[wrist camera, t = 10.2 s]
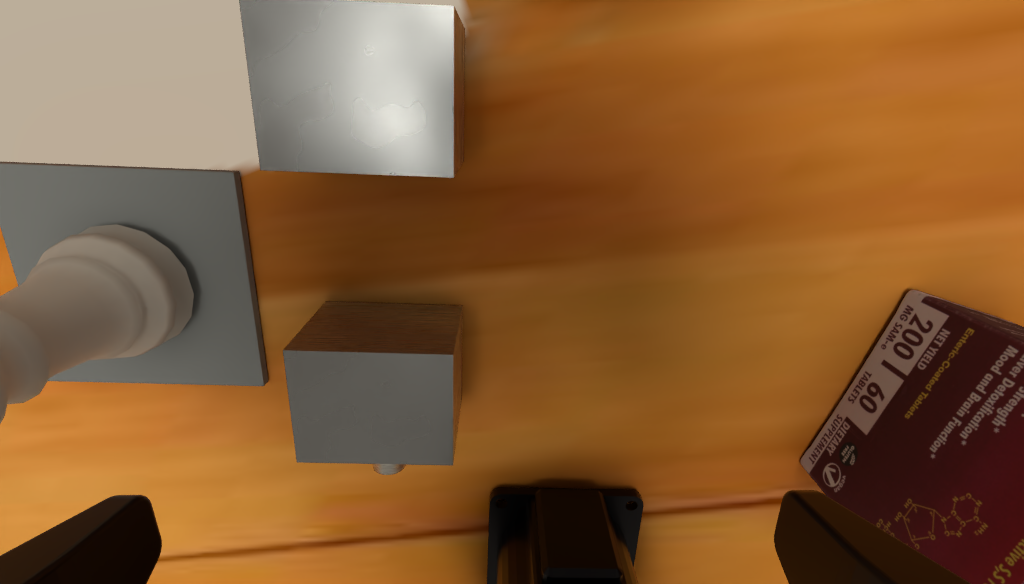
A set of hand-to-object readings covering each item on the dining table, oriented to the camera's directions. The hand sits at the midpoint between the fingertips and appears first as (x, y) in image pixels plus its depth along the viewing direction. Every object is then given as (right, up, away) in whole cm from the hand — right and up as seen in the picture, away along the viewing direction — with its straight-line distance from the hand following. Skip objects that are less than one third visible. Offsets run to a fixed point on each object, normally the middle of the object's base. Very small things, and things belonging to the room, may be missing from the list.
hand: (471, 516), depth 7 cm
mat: (-13, +4, +11) cm, 17 cm away
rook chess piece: (-13, +4, +11) cm, 17 cm away
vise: (-4, +5, +11) cm, 12 cm away
